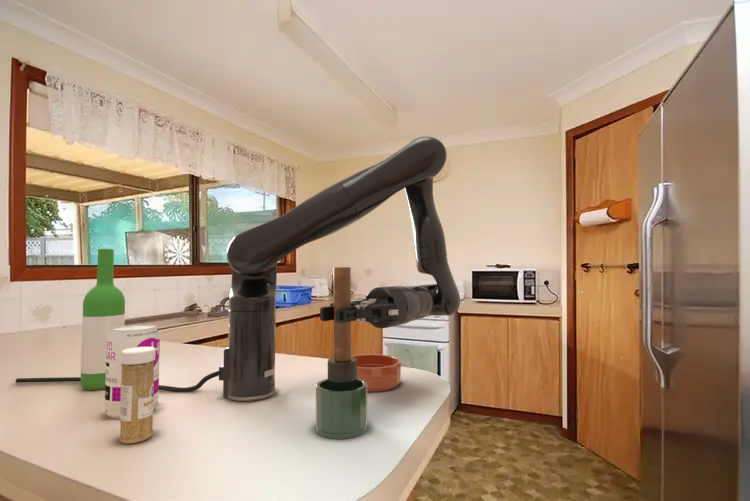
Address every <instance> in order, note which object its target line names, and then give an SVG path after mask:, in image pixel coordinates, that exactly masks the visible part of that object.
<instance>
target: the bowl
mask: <svg viewBox="0 0 750 501" xmlns="http://www.w3.org/2000/svg"><path fill="white" fill-rule="evenodd" d="M351 357H353V358H356V359H357V378H358V379H361V380H364V381H366V383H367V393H369V392H370V393H375V392H384V391H389V390H393V389H394V388H396V387H397V386H398V385H399V384H400V383H401V381H402V359H400V358H398V357H396V356H392V355H387V354H378V353H377V354H373V353H371V354H369V353H367V354H356V355H355V354H354V355H351Z"/></svg>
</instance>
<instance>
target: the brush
mask: <svg viewBox="0 0 750 501" xmlns="http://www.w3.org/2000/svg"><path fill="white" fill-rule="evenodd" d="M332 269H333V270H332V271H333V272H332V273H333V282H332V283H333V284H332V285H333V303H334V320H333V357H330V358H328V359H327V379H328V380H329V381H331V382H337V383H345V382H352V381H355V380H356V379H357V359H356V358H353V357H351V356H352V321H349V322H343V323H337V322H336V309H337V308H344V307H351V300H352V287H351V286H352V284H351V283H352V281H351V280H352V273H351V271H352V270H351V269H352V268H351V267H350V266H346V267H344V266H343V267H342V266H338V267H337V266H336V267H332Z"/></svg>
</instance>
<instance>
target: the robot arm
mask: <svg viewBox="0 0 750 501" xmlns="http://www.w3.org/2000/svg"><path fill="white" fill-rule="evenodd" d="M447 155H448V152H447V148H446V146H445V145H444V144H443V142H442V141H441V140H440V139H438V138H436V137H433V136H425V135H424V136H420V137H416V138H414V139H413V140H411V141H410V142H409V143H407V144H406V145H404V146H403V147H402V148H400V149H399V150H397V151H395V153H393V154H391V155H390V156H389V157H387V158H385V159H383V160H381V161H380V162H377V163H376V164H373V165H371V166H369V167H366V168H364V169H362V170H359V171H357V172H356V173H355V172H354V173H353V174H351V175H349V176H346V177H345V178H343V179H341V180H338V181H337V182H335V183H333V184H331V185H329V186H327V187H325V188H324V189H322V190H321V191H319V192H317V193H315V194H314V195H312V196H310V197H308V198H307V199H305V200H303V201H302V202H301V203H299V204H298V205H296V206H295V207H293V208H292V209H290V210H289V211H288V212H286V213H283V214H282V215H279V216H278V217H276V218H273V219H271V220H269V221H266V222H264V223H262V224H259V225H256V226H253V227H252V228H249V229H246V230H244V231H241V232H239V233H238V234H237V235H235V236H234V237H233V238H232V240H231V241H230V242H229V244H228V246H227V250H226V259H227V263H228V265H229V266H230V268H231V285H230V286H231V287H230V291H229V292H230V293H229V296H228V329H227V330H228V335H227V336H228V337H227V339H228V340H227V341H228V342H227V343H228V344H227V347H225V348H224V349H223V365H220V366H219V367H218V370H216V371H214V372H211V373H209V374H207V375H206V376H203V377H202V378H201V379H200V380H199V381H198V382H197V383H196V384H195V385H192V386H187V387H177V386H170V385H162V384H159V391H163V392H164V391H165V392H172V393H190V392H194V391H197V390H199V389H200V388H202V387H203V386H204V384H205V383H206V382H208V381H209V380H212V379H213V378H216V377H218V381H222V386H223V388H222V398H224V399H225V398H226V399H229V400H231V401H237V402H252V401H253V402H254V401H258V400H264V399H267V398H269V397H272V396H274V395H275V393H276V315H277V314H276V313H277V312H276V306H277V304H276V302H277V279H278V278H277V276H278V272H277V271H278V262H279V261H281V260H282V259H283V258H285V257H287V256H289V255H290V254H291V253H293V252H294V251H296V250H297V249H299V248H301V247H303V246H305V245H307V244H309V243H312V242H315V241H318V240H320V239H323V238H325V237H329V236H330V235H332V234H335V233H337V232H339V231H342V230H343V229H345V228H347V227H348V226H351V225H352V224H354V223H356V222H357V221H359V220H361V219H362V218H364V217H366V216H367V215H368V214H370V213H371V212H373V211H375V210H376V209H377V208H379V206H381V205H382V204H384V203H385V202H386V201H388V199H390V198H391V197H393V196H394V195H395V194H397V193H399V192H400V191H402V190H404V191H405V195H406V200H407V204H408V209H409V213H410V219H411V220H410V222H411V227H412V228H411V229H412V236H413V245H414V255H415V265H416V269H417V271H418V272H419V273H420V274H423V275H428V276H431V277H432V278H433V280H434V281H435V283H431V284H430V283H429V284H419V285H406V286H404V285H392V286H377V287H373V288H372V289H371V290H369V292H367V294H366V296H365V297H358V298H356V299H351V307H344V308H337V309H336V322H337V323H343V322H349V321H351V322H357V323H360V322H361V323H369V324H370V325H371V326H373V327H374V328H377V329H387V328H393V327H396V326H402V325H405V324H409V323H410V322H413V321H419V320H422V319H424V318H426V317H428V316H430V317H432V316H433V317H436V316H438V317H439V316H447V317H448V316H453V315H455V314H456V313H457V312H458V310H459V308H460V305H461V295H460V292H459V288H458V286H457V284H456V281H455V279H454V276H453V274H452V271H451V268H450V265H449V260H448V250H447V244H446V237H445V232H444V228H443V226H442V222H441V220H440V217H439V214H438V212H437V209H436V205H435V199H434V178H435V177H436V176H438V175H439V174H440V173H441V172H442V170H443V169H444V167H445V165H446V162H447ZM319 320H320V321H321V322H329V321H334V302H330V304H329V305H328V306H322V307H320V309H319ZM14 382H15V383H16V384H17V383H18V384H22V383H24V384H25V383H27V384H28V383H70V382H71V383H72V382H75V383H76V382H77V383H81V376H74V377H73V376H68V377H65V376H64V377H60V376H59V377H21V378H19V377H18V378H16V379H15V381H14Z"/></svg>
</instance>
